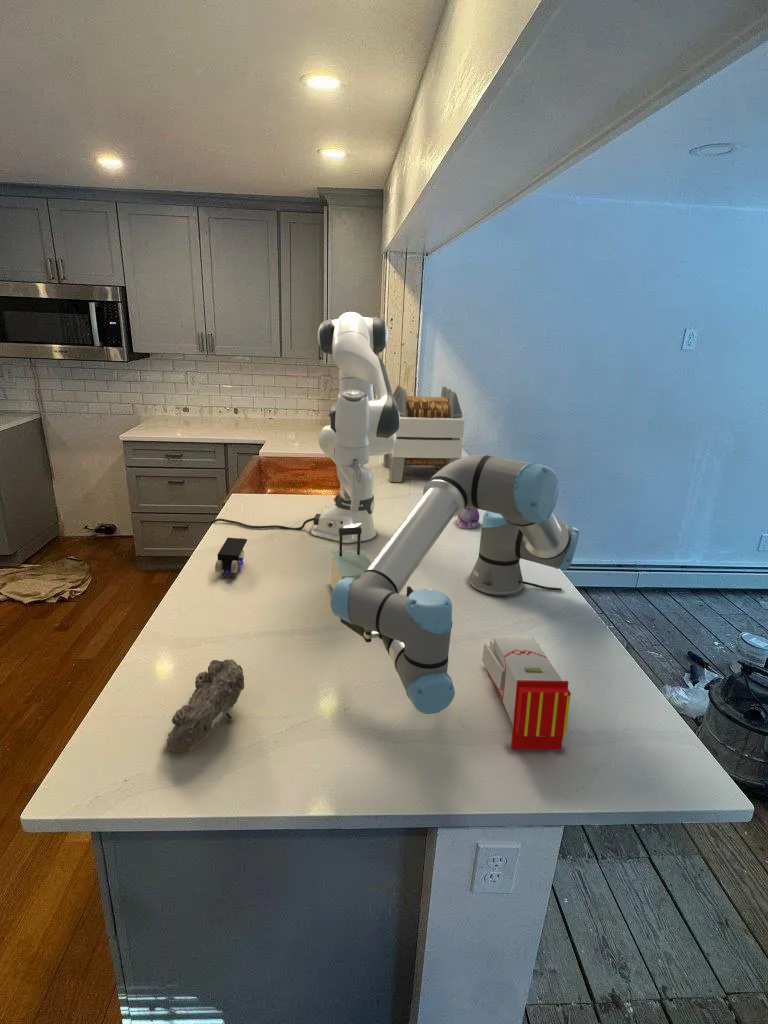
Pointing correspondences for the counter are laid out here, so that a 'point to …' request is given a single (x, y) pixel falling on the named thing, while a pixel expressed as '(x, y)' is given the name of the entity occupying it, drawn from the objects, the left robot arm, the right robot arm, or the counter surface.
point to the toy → (529, 692)
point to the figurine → (468, 518)
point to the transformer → (426, 432)
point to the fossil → (206, 705)
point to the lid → (350, 556)
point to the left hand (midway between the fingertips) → (350, 505)
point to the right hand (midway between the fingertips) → (378, 594)
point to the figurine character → (230, 556)
